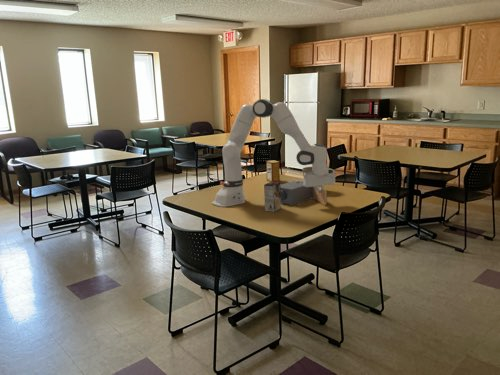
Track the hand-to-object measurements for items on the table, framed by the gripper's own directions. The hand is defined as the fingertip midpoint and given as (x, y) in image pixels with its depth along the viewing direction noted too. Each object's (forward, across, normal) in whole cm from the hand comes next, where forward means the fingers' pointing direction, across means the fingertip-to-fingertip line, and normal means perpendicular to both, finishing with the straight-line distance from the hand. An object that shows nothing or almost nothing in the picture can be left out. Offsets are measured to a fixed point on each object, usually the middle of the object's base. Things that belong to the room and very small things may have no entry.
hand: (319, 192), depth 250 cm
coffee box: (+8, -30, 0) cm, 31 cm away
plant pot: (+8, +12, +33) cm, 36 cm away
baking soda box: (+8, -3, +75) cm, 75 cm away
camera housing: (+7, -10, +16) cm, 20 cm away
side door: (+7, +3, +4) cm, 9 cm away
